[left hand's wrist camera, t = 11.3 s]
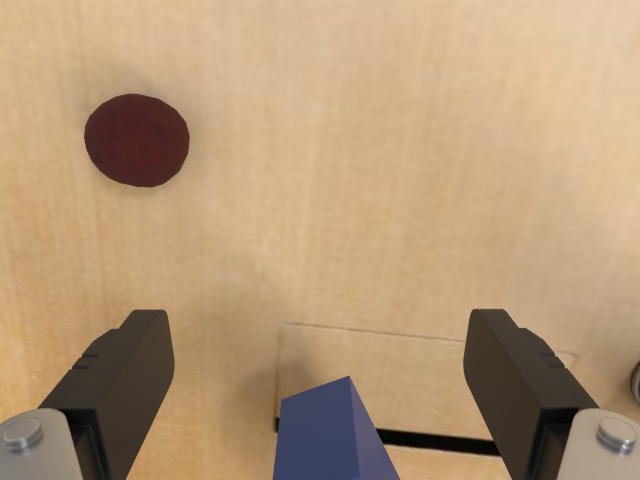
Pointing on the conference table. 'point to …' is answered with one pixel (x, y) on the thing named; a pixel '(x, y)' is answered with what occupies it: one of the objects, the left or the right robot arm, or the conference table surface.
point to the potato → (137, 140)
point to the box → (329, 437)
